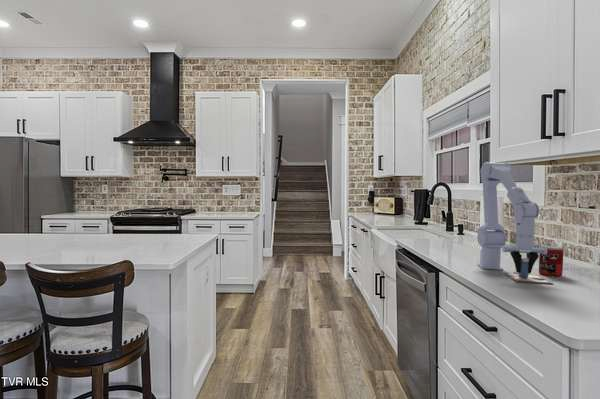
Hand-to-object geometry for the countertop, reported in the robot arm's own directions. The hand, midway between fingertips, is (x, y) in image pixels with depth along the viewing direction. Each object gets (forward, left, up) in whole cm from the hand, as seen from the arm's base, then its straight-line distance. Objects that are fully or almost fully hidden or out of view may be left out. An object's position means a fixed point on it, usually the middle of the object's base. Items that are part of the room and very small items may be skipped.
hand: (523, 272), depth 144 cm
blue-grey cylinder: (0, 0, -2) cm, 2 cm away
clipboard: (-2, +2, -3) cm, 4 cm away
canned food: (-13, +14, -3) cm, 19 cm away
